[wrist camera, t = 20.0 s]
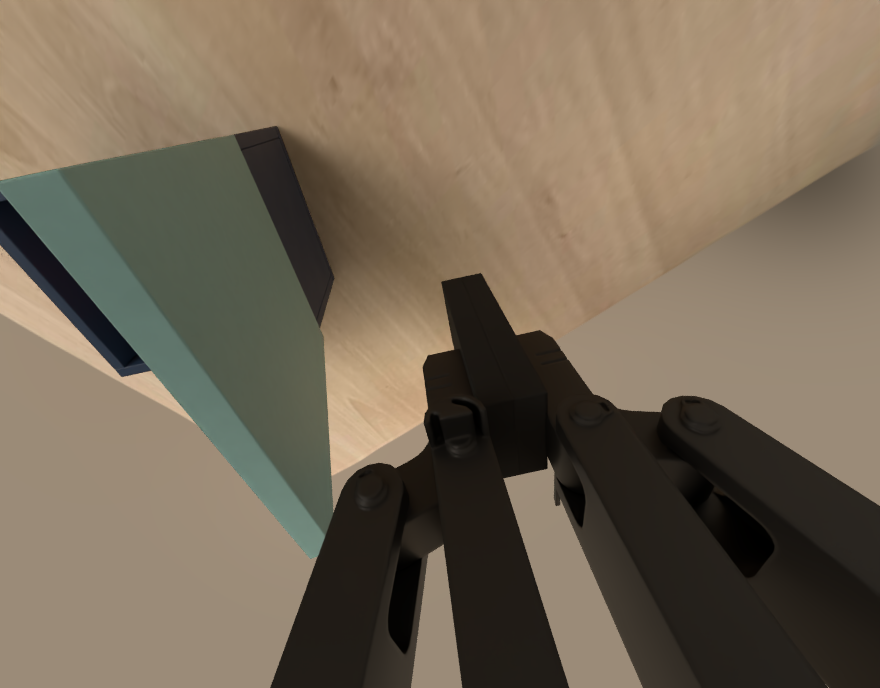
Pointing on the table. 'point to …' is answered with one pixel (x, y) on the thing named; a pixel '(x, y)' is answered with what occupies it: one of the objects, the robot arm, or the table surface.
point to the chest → (282, 205)
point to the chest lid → (202, 307)
